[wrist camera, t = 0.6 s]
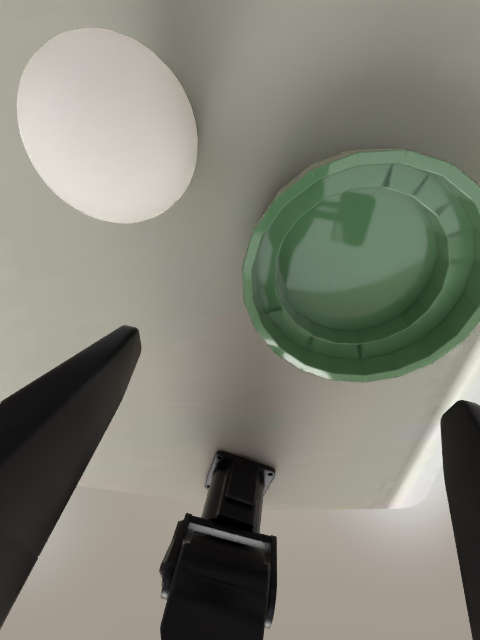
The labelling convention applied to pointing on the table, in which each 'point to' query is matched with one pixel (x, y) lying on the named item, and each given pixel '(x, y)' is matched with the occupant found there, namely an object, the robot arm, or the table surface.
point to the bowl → (367, 265)
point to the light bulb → (107, 125)
